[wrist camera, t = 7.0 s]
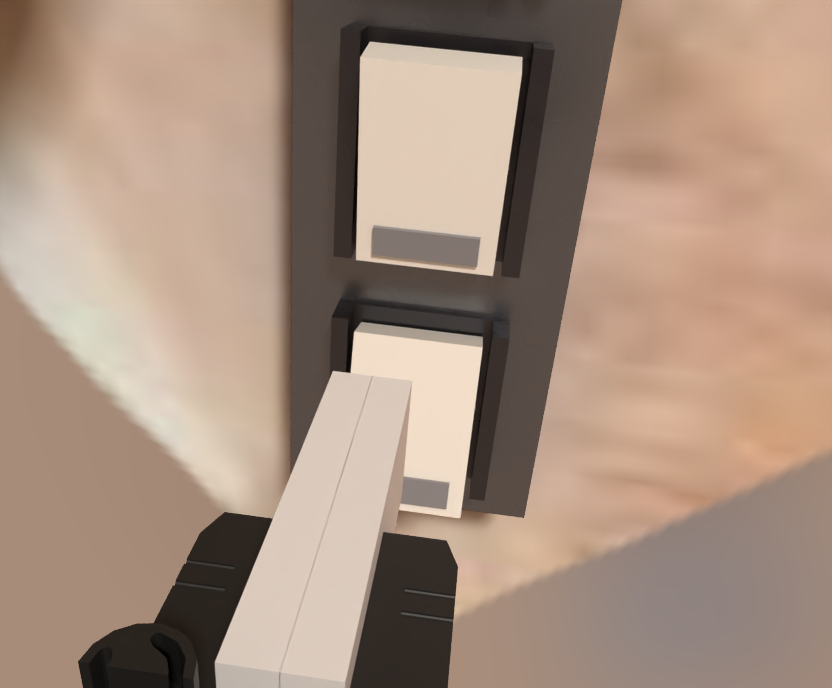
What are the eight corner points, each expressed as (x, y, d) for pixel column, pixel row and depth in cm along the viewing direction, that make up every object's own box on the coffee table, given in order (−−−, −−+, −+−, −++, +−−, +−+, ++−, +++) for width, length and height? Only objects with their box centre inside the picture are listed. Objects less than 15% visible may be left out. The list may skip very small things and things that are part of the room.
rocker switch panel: (329, -420, 22) (277, -520, 17) (677, -397, 22) (726, -494, 17) (311, 433, 37) (280, 510, 32) (522, 461, 36) (524, 544, 31)
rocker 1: (369, 41, 23) (359, 58, 21) (522, 56, 22) (521, 75, 21) (364, 236, 27) (355, 262, 25) (494, 251, 26) (492, 278, 25)
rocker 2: (361, 322, 28) (353, 332, 27) (483, 336, 28) (482, 348, 27) (346, 483, 30) (338, 503, 28) (461, 499, 30) (460, 520, 28)
